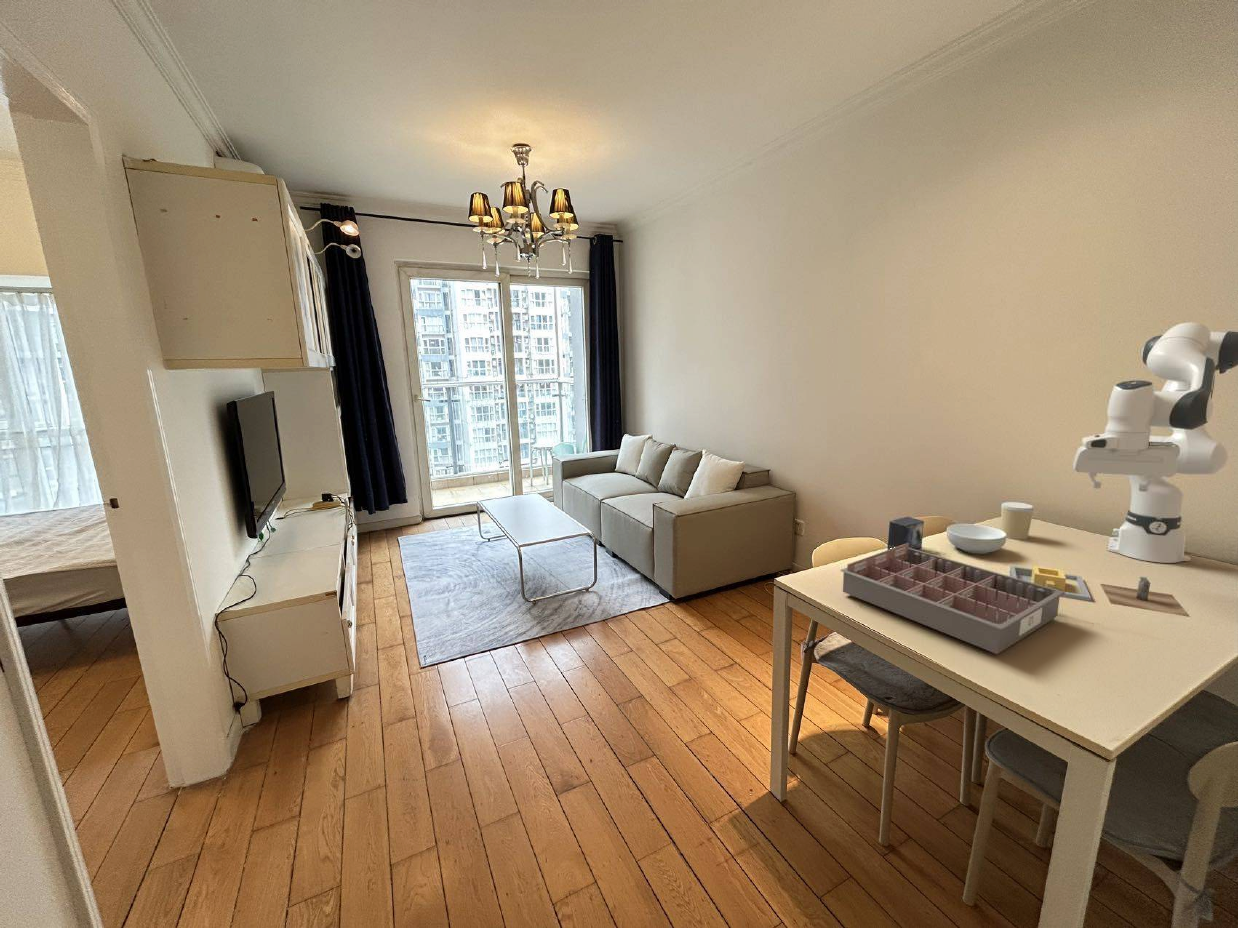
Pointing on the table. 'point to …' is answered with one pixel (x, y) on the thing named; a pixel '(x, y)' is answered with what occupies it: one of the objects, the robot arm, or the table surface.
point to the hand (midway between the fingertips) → (1119, 489)
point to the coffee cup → (1016, 519)
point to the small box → (905, 533)
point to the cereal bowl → (976, 538)
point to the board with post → (1143, 598)
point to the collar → (1048, 577)
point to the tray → (1027, 573)
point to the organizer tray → (952, 596)
